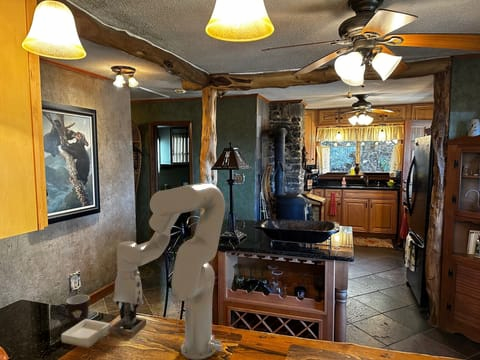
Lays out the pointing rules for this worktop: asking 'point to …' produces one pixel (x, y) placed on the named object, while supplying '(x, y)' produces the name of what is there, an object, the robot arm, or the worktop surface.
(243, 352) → the worktop surface
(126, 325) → the salt shaker
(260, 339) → the worktop surface
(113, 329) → the tray
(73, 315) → the coffee mug
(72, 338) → the tray
